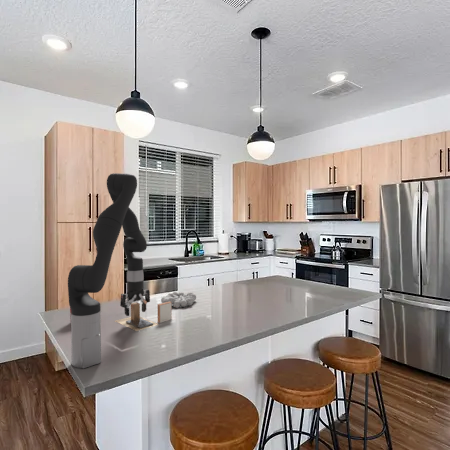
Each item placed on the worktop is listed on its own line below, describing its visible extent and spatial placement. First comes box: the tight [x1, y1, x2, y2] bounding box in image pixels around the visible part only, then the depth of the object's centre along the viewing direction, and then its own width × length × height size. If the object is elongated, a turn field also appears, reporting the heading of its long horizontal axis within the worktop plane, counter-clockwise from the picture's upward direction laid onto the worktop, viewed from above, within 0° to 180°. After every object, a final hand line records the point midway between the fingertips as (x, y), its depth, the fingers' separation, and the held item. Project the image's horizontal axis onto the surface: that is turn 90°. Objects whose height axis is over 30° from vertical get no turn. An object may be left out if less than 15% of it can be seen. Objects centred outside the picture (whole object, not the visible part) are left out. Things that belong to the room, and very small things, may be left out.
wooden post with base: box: [126, 301, 153, 329], centre depth 146 cm, size 12×7×9 cm, turn 46°
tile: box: [156, 302, 173, 324], centre depth 151 cm, size 2×7×9 cm, turn 136°
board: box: [114, 316, 160, 332], centre depth 148 cm, size 20×12×1 cm, turn 46°
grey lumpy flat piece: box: [160, 291, 197, 309], centre depth 185 cm, size 22×21×6 cm
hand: (135, 313), depth 149 cm, fingers open, 8 cm apart
